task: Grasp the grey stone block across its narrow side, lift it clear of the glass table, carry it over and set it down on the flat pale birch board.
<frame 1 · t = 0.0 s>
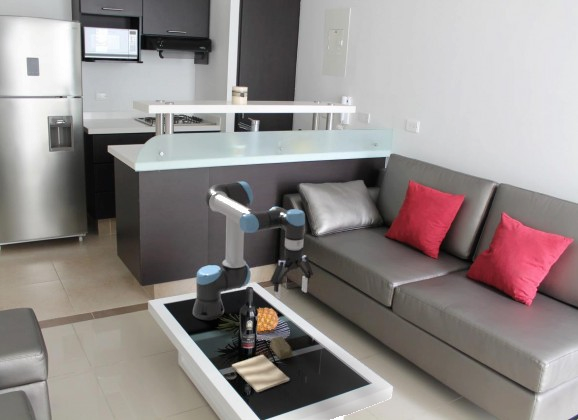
hand: (291, 294, 229), 28 cm above the table, fingers open, 13 cm apart
trivet: (260, 373, 222), on the table
stone block: (280, 353, 238), on the table
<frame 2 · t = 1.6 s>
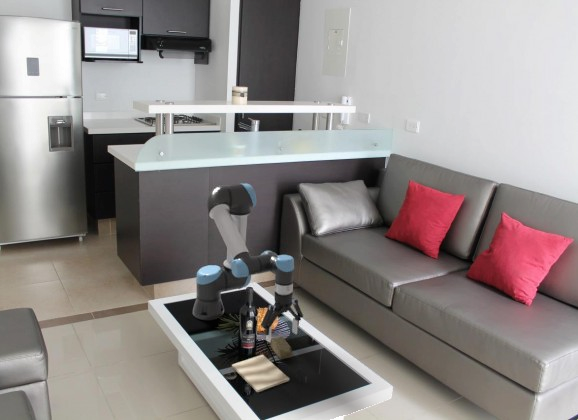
hand: (281, 337, 236), 8 cm above the table, fingers open, 13 cm apart
nothing on the table moved.
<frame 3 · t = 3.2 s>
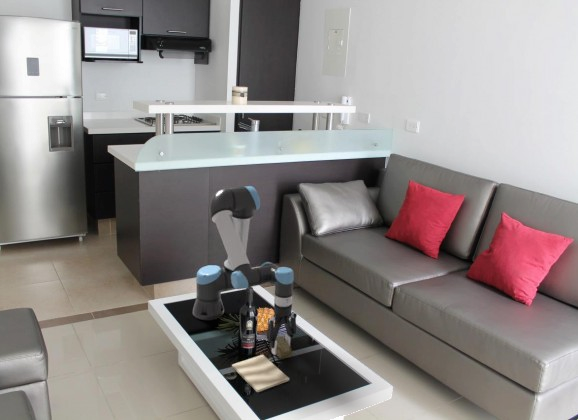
hand: (280, 351, 238), 1 cm above the table, fingers closed on stone block, 6 cm apart
stone block: (280, 352, 238), on the table, touching gripper
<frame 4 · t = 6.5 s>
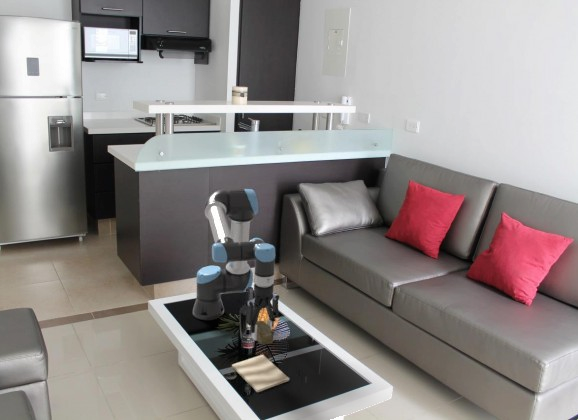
hand: (261, 336, 217), 17 cm above the table, fingers closed on stone block, 6 cm apart
stone block: (261, 338, 218), point 16 cm above the table, touching gripper
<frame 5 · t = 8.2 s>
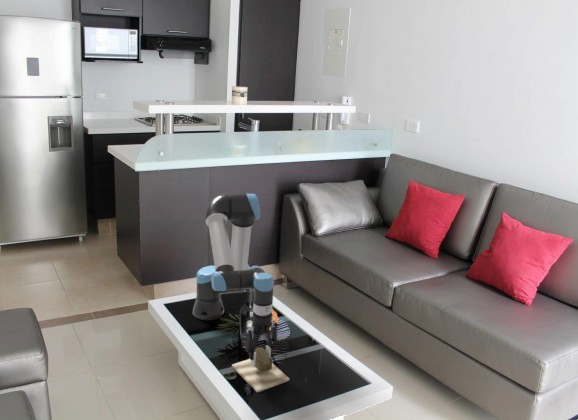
hand: (260, 363, 221), 5 cm above the table, fingers closed on stone block, 6 cm apart
stone block: (260, 365, 221), point 4 cm above the table, touching gripper
when the fingers open (2 cm above the table, at t = 9.7 s): stone block stays where it is, resting on trivet.
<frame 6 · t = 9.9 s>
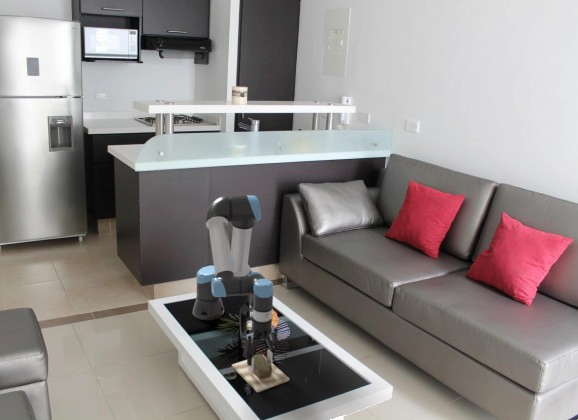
hand: (260, 368, 222), 2 cm above the table, fingers open, 8 cm apart
stone block: (260, 371, 222), point 1 cm above the table, touching trivet
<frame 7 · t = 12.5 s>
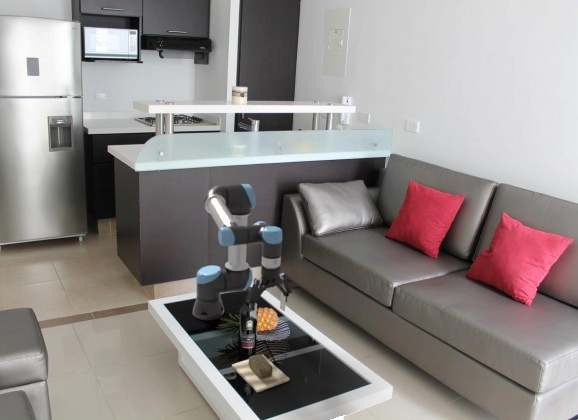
hand: (268, 313, 223), 23 cm above the table, fingers open, 13 cm apart
nothing on the table moved.
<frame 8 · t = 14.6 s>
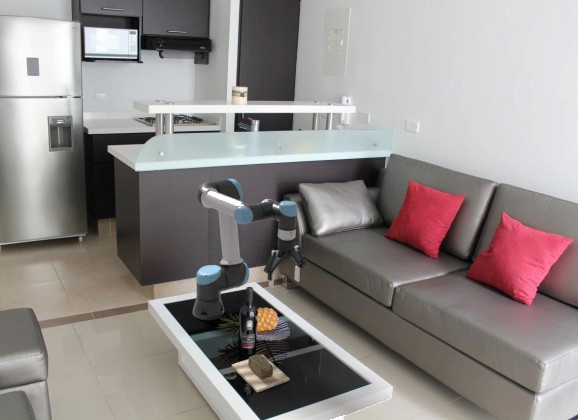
hand: (284, 283, 238), 29 cm above the table, fingers open, 13 cm apart
nothing on the table moved.
at the end: stone block 0.1 cm from the trivet (horizontally); stone block touching trivet; the gripper is holding nothing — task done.
